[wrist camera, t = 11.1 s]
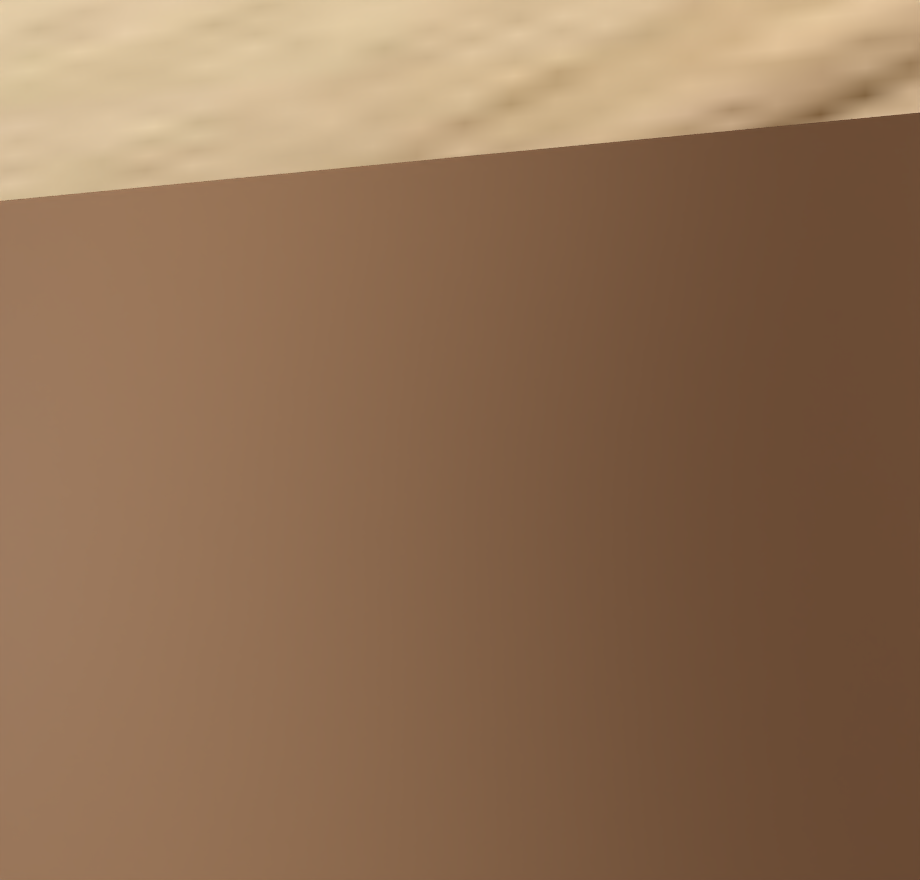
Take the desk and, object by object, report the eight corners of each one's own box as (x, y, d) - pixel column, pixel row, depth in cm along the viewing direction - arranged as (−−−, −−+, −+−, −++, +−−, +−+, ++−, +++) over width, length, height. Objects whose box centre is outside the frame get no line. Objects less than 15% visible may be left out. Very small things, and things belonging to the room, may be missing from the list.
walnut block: (401, 774, 13) (-104, 1315, 3) (394, 477, 14) (-31, 203, 4) (708, 771, 13) (1191, 1400, 3) (683, 462, 13) (987, 105, 4)
